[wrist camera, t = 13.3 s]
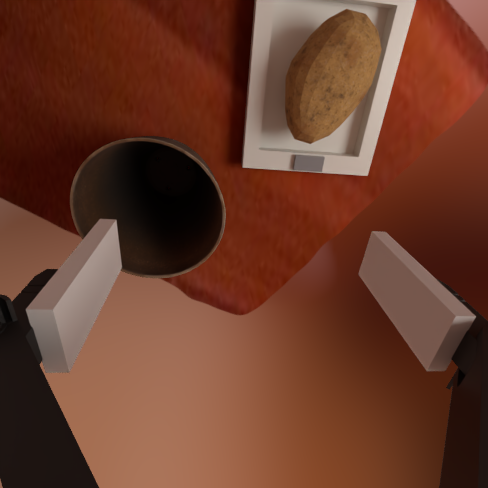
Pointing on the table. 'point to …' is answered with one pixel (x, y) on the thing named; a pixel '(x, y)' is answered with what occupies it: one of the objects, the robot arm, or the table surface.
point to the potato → (331, 75)
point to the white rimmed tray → (274, 75)
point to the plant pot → (151, 204)
